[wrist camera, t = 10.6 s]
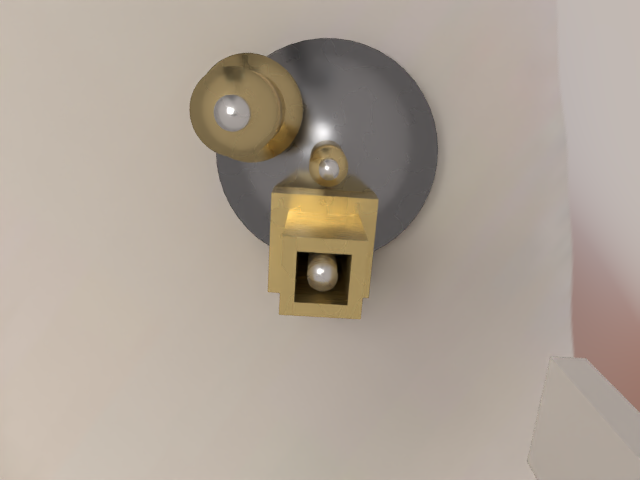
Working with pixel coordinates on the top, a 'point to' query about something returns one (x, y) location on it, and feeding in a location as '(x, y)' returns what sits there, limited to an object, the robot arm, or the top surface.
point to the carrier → (318, 134)
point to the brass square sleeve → (321, 248)
